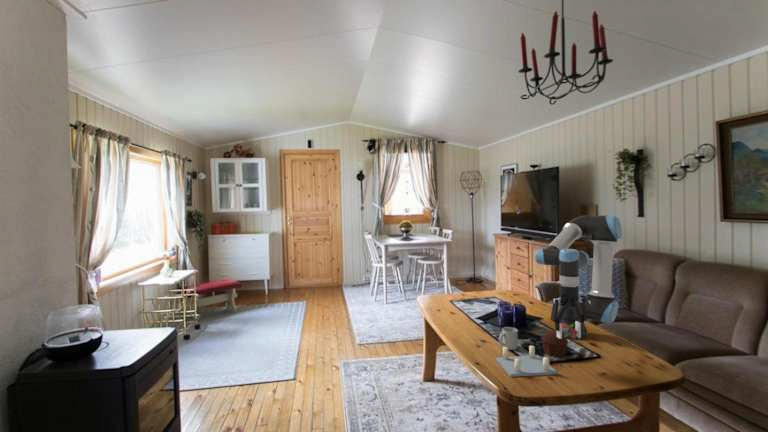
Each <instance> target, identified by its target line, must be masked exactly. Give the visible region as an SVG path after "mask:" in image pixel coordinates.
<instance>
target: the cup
mask: <svg viewBox="0 0 768 432" xmlns="http://www.w3.org/2000/svg"><path fill="white" fill-rule="evenodd" d="M518 333H519V331H518V329H517V328H516V327H511V326H504V327H502V329H501V333H500V334H499V337H498V344H500V346H502V348H503V347H508V351H509V350H510V351H514V349H515V350H517V349H518V337H519V336H518Z"/></svg>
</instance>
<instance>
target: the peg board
mask: <svg viewBox="0 0 768 432" xmlns="http://www.w3.org/2000/svg"><path fill="white" fill-rule="evenodd" d="M535 347H536V346H534V345H529V346H528V350H529V351H528V355H518V356H516V355H515V356H509V350H508V347H503V346H502V356H498V357H495V361H496V362H497V363H498V364H499V365H500V366H501V367H502V369H503V370H504V371H505V372H506V373H507V374H508V376H509V377H510V378H513V377H514V378H515V377H532V376H552V375H553V376H555V375H558V371H557V370H555V368H554V367H552V366H551V365H550V358H549V357H546V356H544V357H541V356H539V355H536V348H535Z"/></svg>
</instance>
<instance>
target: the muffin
mask: <svg viewBox="0 0 768 432" xmlns="http://www.w3.org/2000/svg"><path fill="white" fill-rule="evenodd" d="M541 342H542V346H543V352H544V354H545V355H547V356H549V357H552V356H554V358H563V357H565V356H566V352H567V345H568V342H569V341H568V338H566V337H565V338H564V335H563V336H562V339H559V338H558V337H557V332H556V330H555V331H554V330H553V331H551V330H550V331H547V332H546V333H544V334H543V335H542V336H541ZM564 355H565V356H564Z"/></svg>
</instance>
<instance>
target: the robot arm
mask: <svg viewBox="0 0 768 432" xmlns="http://www.w3.org/2000/svg"><path fill="white" fill-rule="evenodd" d="M622 235H623V230H622V224H621V222H620V219H619V218H618V216H615V215H581V216H580V215H579V216H577V217H575V218H573V219H571V220H569V221H568V222H566V223H565V225H563V227H562V230H561V231H560V232H559V234H558V235H557V236H555V238H554V239H553V240H552V241H551V242H550V243H549V244H548V245H547V246H546V247H545V248H538V249H536V250H535V252H534V260H535V263H537V264H539V265H544V266H552V267H559V269H558V270H559V281H558V282H559V286H558V288H559V289H558V293H559V296H558V298H554V297H553V298H552V299H551V300H552V308H551V313H550V314H551V315H550V321H551V322H553V323H554V330H555V332H557V337H558V338H559V339H562V335H565V333H564V332H562V323H563V322H564V323H566V324H568V325H571V324H575V325H573V327H572V328H574V329H575V330H576V331H578V332H577V334H576V337H575V339H574V340H585V339H587V338H588V336H589V333H588V330H587V328H586V324H585V322H587V321H588V320H589V321H591V320H592V321H597V322H600V323H607V324H611V323H613V322H614V321H615V320H616V317H617V315H618V313H619V302H618V300H615V295H614V294H612V278H613V260H614V246H615V245H616V244H618V240H620V239H621V238H622ZM580 238H590V242H591V243H592V244H593V257H592V258H593V259H592V272H591V273H592V275H591V277H592V278H591V290H590V291H589V292H587V295H585V293H584V292H583V291H580V289H579V288H580V287H579V285H580V277H579V276H580V269H583V268H585V267H587V266H588V265H589V263H590V256H589V254H588V253H587V252H585V251H583V250H578V249H574V248H570V246H571V245H572V244H573V243H574V242H575V241H576V240H579V239H580ZM575 326H576V327H575ZM566 339H569V340H573V339H572V338H571V337H569V336H568V337H566Z"/></svg>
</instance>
